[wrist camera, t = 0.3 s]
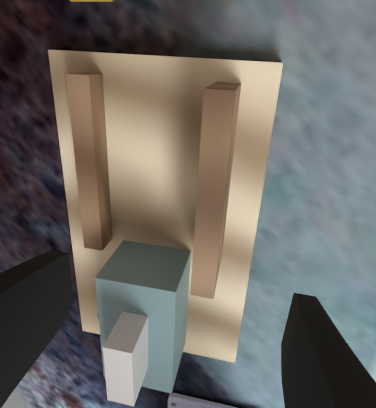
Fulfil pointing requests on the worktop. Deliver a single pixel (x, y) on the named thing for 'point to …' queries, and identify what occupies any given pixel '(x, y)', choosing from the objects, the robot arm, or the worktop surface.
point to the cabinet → (142, 318)
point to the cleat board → (167, 172)
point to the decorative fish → (91, 0)
